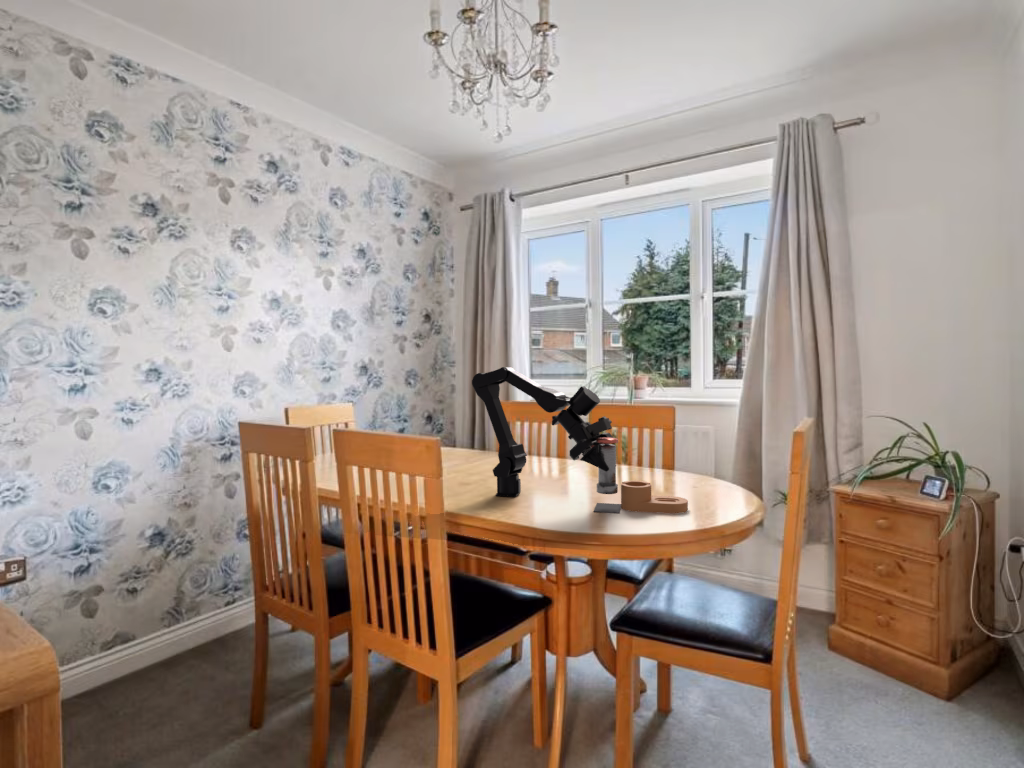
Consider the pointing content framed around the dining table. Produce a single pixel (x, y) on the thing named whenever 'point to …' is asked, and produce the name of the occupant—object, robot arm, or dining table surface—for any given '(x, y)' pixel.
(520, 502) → the dining table surface
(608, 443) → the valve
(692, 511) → the dining table surface
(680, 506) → the bracket
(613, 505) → the dark grey rectangular plate
